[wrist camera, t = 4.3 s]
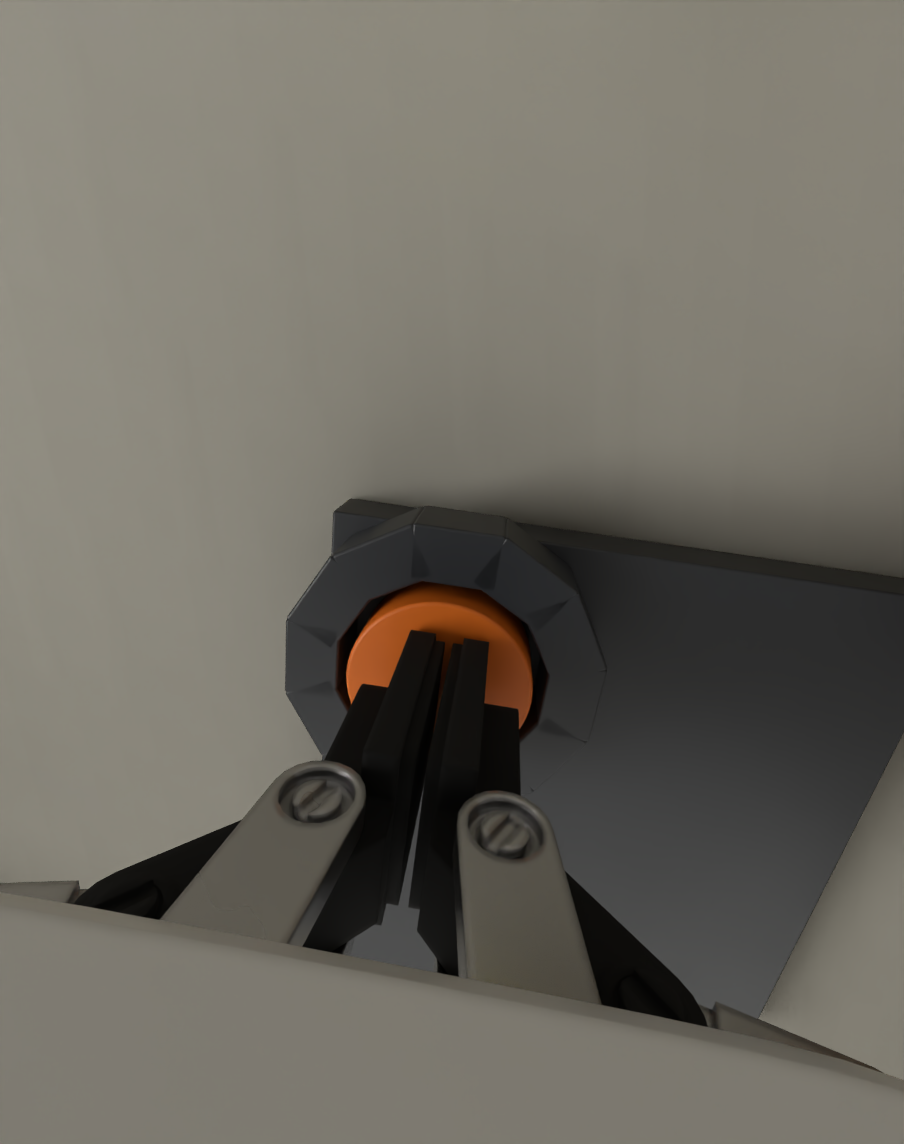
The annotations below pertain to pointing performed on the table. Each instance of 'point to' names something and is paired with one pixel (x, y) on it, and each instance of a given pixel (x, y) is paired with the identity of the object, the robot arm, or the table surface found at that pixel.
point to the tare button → (445, 640)
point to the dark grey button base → (648, 720)
